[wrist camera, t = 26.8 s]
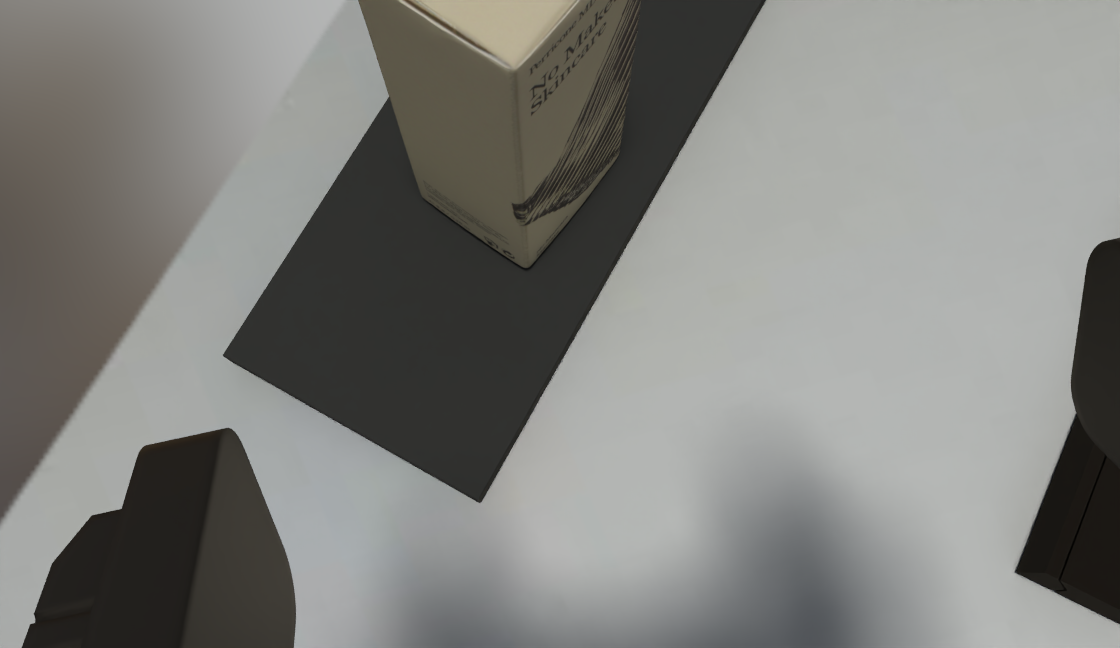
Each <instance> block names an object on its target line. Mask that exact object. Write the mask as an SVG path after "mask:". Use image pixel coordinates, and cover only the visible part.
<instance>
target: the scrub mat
mask: <svg viewBox="0 0 1120 648" xmlns="http://www.w3.org/2000/svg"><path fill="white" fill-rule="evenodd" d="M764 2H765V0H641V3H640V14H639V19H638V30H637V35H636V44H635V50H634V57H633V63H632V70H631V78H630V82H629V92H628V96H627V105H626V109H625V118H624V125H623V132H622V138H621V145H620V152H619V155H618V157H617V159H616V160H615V162H614V163H613V164H612V166H611V167H610V168H609V170H608V171H607V172H606V174H605V175H604V176H603V178H602V179H601V180H600V182H599V183H598V184H597V186H596V187H595V188H594V190H593V191H592V192H591V194H590V195H589V196H588V198H587V199H586V200H585V202H584V203H583V204H582V205H581V207H580V208H579V209H578V210H577V211H576V213H575V214H574V215H573V216H572V218H571V219H570V220H569V222H568V223H567V224H566V225H565V226H564V228H563V229H562V230H561V231H560V232H559V233H558V235H557V236H556V237H555V238H554V239H553V241H552V242H551V243H550V244H549V245H548V246H547V248H546V249H545V250H544V251H543V252H542V253H541V254H540V256H539V257H538V258H537V259H536V261H535V262H534V263H533V264H532V265H531V266H530V267H528V268H523V267H521V266H520V265H518V264H516V263H515V262H513V261H512V260H510V259H509V258H507V257H506V256H504V255H503V254H501V253H500V252H498V251H497V250H495V249H494V248H492V247H491V246H489V245H488V244H486V243H485V242H484V241H482V240H481V239H479V238H478V237H477V236H475V235H474V234H472V233H471V232H469V231H468V230H466V229H465V228H464V227H462V226H461V225H459V224H458V223H457V222H455V221H454V220H452V219H451V218H450V217H448V216H447V215H446V214H444V213H443V212H441V211H440V210H439V209H438V208H436V207H435V206H433V205H432V204H431V203H429V202H428V201H426V200H425V199H424V198H423V197H422V195H421V193H420V190H419V187H418V184H417V182H416V179H415V175H414V172H413V169H412V166H411V163H410V160H409V157H408V154H407V151H406V147H405V144H404V141H403V138H402V135H401V132H400V129H399V125H398V122H397V119H396V116H395V113H394V110H393V107H392V103H391V100H390V97H389V98H388V99H387V101H386V102H385V104H384V105H383V107H382V109H381V110H380V112H379V113H378V115H377V116H376V118H375V119H374V121H373V123H372V124H371V126H370V127H369V129H368V130H367V132H366V133H365V135H364V137H363V138H362V140H361V141H360V143H359V144H358V146H357V147H356V149H355V151H354V152H353V154H352V155H351V157H350V158H349V160H348V161H347V163H346V165H345V166H344V168H343V169H342V171H341V172H340V174H339V175H338V177H337V179H336V180H335V182H334V183H333V185H332V186H331V188H330V189H329V191H328V193H327V194H326V196H325V197H324V199H323V200H322V202H321V203H320V205H319V207H318V208H317V210H316V211H315V213H314V214H313V216H312V217H311V219H310V221H309V222H308V224H307V225H306V227H305V228H304V230H303V231H302V233H301V234H300V236H299V238H298V239H297V241H296V242H295V244H294V245H293V247H292V248H291V250H290V252H289V253H288V255H287V256H286V258H285V259H284V261H283V262H282V264H281V266H280V267H279V269H278V270H277V272H276V273H275V275H274V276H273V278H272V280H271V281H270V283H269V284H268V286H267V287H266V289H265V290H264V292H263V294H262V295H261V297H260V298H259V300H258V301H257V303H256V304H255V306H254V308H253V309H252V311H251V312H250V314H249V315H248V317H247V318H246V320H245V322H244V323H243V325H242V326H241V328H240V329H239V331H238V332H237V334H236V336H235V337H234V339H233V340H232V342H231V343H230V345H229V346H228V348H227V350H226V351H225V353H224V354H223V356H224V357H225V358H227V359H228V360H230V361H232V362H233V363H235V364H237V365H238V366H240V367H242V368H244V369H245V370H247V371H249V372H251V373H253V374H254V375H256V376H258V377H260V378H261V379H263V380H265V381H267V382H268V383H270V384H272V385H274V386H275V387H277V388H279V389H281V390H282V391H284V392H286V393H288V394H289V395H291V396H293V397H295V398H296V399H298V400H300V401H302V402H303V403H305V404H307V405H309V406H310V407H312V408H314V409H316V410H317V411H319V412H321V413H323V414H325V415H326V416H328V417H330V418H332V419H333V420H335V421H337V422H339V423H340V424H342V425H344V426H346V427H347V428H349V429H351V430H353V431H354V432H356V433H358V434H360V435H361V436H363V437H365V438H367V439H368V440H370V441H372V442H374V443H375V444H377V445H379V446H381V447H382V448H384V449H386V450H388V451H389V452H391V453H393V454H395V455H396V456H398V457H400V458H402V459H404V460H405V461H407V462H409V463H411V464H412V465H414V466H416V467H418V468H419V469H421V470H423V471H425V472H426V473H428V474H430V475H432V476H433V477H435V478H437V479H439V480H440V481H442V482H444V483H446V484H447V485H449V486H451V487H453V488H454V489H456V490H458V491H460V492H461V493H463V494H465V495H467V496H468V497H470V498H472V499H474V500H476V501H477V502H481V501H482V499H483V498H484V496H485V494H486V492H487V491H488V489H489V487H490V485H491V484H492V482H493V480H494V478H495V476H496V475H497V473H498V471H499V469H500V468H501V466H502V464H503V462H504V461H505V459H506V457H507V455H508V454H509V452H510V450H511V448H512V446H513V445H514V443H515V441H516V439H517V438H518V436H519V434H520V432H521V431H522V429H523V427H524V425H525V424H526V422H527V420H528V418H529V416H530V415H531V413H532V411H533V409H534V408H535V406H536V404H537V402H538V401H539V399H540V397H541V395H542V394H543V392H544V390H545V388H546V387H547V385H548V383H549V381H550V379H551V378H552V376H553V374H554V372H555V371H556V369H557V367H558V365H559V364H560V362H561V360H562V358H563V357H564V355H565V353H566V351H567V349H568V348H569V346H570V344H571V342H572V341H573V339H574V337H575V335H576V334H577V332H578V330H579V328H580V327H581V325H582V323H583V321H584V319H585V318H586V316H587V314H588V312H589V311H590V309H591V307H592V305H593V304H594V302H595V300H596V298H597V297H598V295H599V293H600V291H601V290H602V288H603V286H604V284H605V282H606V281H607V279H608V277H609V275H610V274H611V272H612V270H613V268H614V267H615V265H616V263H617V261H618V260H619V258H620V256H621V254H622V252H623V251H624V249H625V247H626V245H627V244H628V242H629V240H630V238H631V237H632V235H633V233H634V231H635V230H636V228H637V226H638V224H639V222H640V221H641V219H642V217H643V215H644V214H645V212H646V210H647V208H648V207H649V205H650V203H651V201H652V200H653V198H654V196H655V194H656V193H657V191H658V189H659V187H660V185H661V184H662V182H663V180H664V178H665V177H666V175H667V173H668V171H669V170H670V168H671V166H672V164H673V163H674V161H675V159H676V157H677V155H678V154H679V152H680V150H681V148H682V147H683V145H684V143H685V141H686V140H687V138H688V136H689V134H690V133H691V131H692V129H693V127H694V125H695V124H696V122H697V120H698V118H699V117H700V115H701V113H702V111H703V110H704V108H705V106H706V104H707V103H708V101H709V99H710V97H711V96H712V94H713V92H714V90H715V88H716V87H717V85H718V83H719V81H720V80H721V78H722V76H723V74H724V73H725V71H726V69H727V67H728V66H729V64H730V62H731V60H732V58H733V57H734V55H735V53H736V51H737V50H738V48H739V46H740V44H741V43H742V41H743V39H744V37H745V36H746V34H747V32H748V30H749V28H750V27H751V25H752V23H753V21H754V20H755V18H756V16H757V14H758V13H759V11H760V9H761V7H762V6H763V4H764Z"/></svg>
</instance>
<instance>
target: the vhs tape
mask: <svg viewBox="0 0 1120 648" xmlns="http://www.w3.org/2000/svg"><path fill="white" fill-rule="evenodd" d="M1016 573H1018V574H1020V575H1022V576H1024V577H1027V578H1029V579H1031V580H1033V581H1035V582H1037V583H1039V584H1041V585H1043V586H1045V587H1047V588H1049V589H1051V590H1055V592H1057V593H1059V594H1061V595H1063V596H1065V597H1067V598H1069V599H1071V600H1073V601H1075V602H1077V603H1079V604H1081V605H1083V606H1085V607H1087V608H1089V609H1091V610H1093V611H1095V612H1097V613H1099V614H1101V615H1103V616H1105V617H1107V618H1109V619H1112V620H1114V621H1116V622H1118V623H1120V469H1119V468H1118V467H1117V466H1116V465H1115V464H1114V463H1113V462H1112V461H1111V460H1110V459H1109V458H1108V457H1107V456H1106V455H1105V454H1104V453H1103V452H1102V451H1101V450H1100V449H1099V447H1098V446H1097V445H1096V444H1095V443H1094V442H1093V441H1092V440H1091V439H1090V437H1089V436H1088V434H1087V433H1086V431H1085V430H1084V428H1083V426H1082V424H1081V422H1080V420H1079V418H1078V415H1077V417H1076V420H1075V422H1074V425H1073V427H1072V430H1071V433H1070V435H1069V438H1068V440H1067V443H1066V446H1065V448H1064V451H1063V453H1062V456H1061V458H1060V461H1059V464H1058V466H1057V469H1056V471H1055V474H1054V477H1053V479H1052V482H1051V484H1050V487H1049V490H1048V492H1047V495H1046V497H1045V500H1044V502H1043V505H1042V508H1041V510H1040V513H1039V515H1038V518H1037V521H1036V523H1035V526H1034V528H1033V531H1032V534H1031V536H1030V539H1029V541H1028V544H1027V546H1026V549H1025V552H1024V554H1023V557H1022V559H1021V562H1020V565H1019V567H1018V570H1017V572H1016Z"/></svg>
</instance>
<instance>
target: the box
mask: <svg viewBox="0 0 1120 648" xmlns="http://www.w3.org/2000/svg"><path fill="white" fill-rule="evenodd" d="M358 1H359V4H360V7H361V10H362V13H363V16H364V19H365V22H366V25H367V28H368V31H369V34H370V37H371V40H372V44H373V47H374V50H375V53H376V56H377V60H378V63H379V66H380V69H381V72H382V75H383V78H384V81H385V84H386V87H387V91H388V94H389V97H390V100H391V103H392V107H393V110H394V113H395V116H396V119H397V122H398V125H399V129H400V132H401V135H402V138H403V141H404V144H405V147H406V151H407V154H408V157H409V160H410V163H411V166H412V169H413V172H414V175H415V179H416V182H417V184H418V187H419V190H420V193H421V195H422V197H423V198H424V199H425V200H426V201H428V202H429V203H431V204H432V205H433V206H435V207H436V208H438V209H439V210H440V211H441V212H443V213H444V214H446V215H447V216H448V217H450V218H451V219H452V220H454V221H455V222H457V223H458V224H459V225H461V226H462V227H464V228H465V229H466V230H468V231H469V232H471V233H472V234H474V235H475V236H477V237H478V238H479V239H481V240H482V241H484V242H485V243H486V244H488V245H489V246H491V247H492V248H494V249H495V250H497V251H498V252H500V253H501V254H503V255H504V256H506V257H507V258H509V259H510V260H512V261H513V262H515V263H516V264H518V265H520V266H521V267H523V268H528V267H530V266H531V265H532V264H533V263H534V262H535V261H536V259H537V258H538V257H539V256H540V254H541V253H542V252H543V251H544V250H545V249H546V248H547V246H548V245H549V244H550V243H551V242H552V241H553V239H554V238H555V237H556V236H557V235H558V233H559V232H560V231H561V230H562V229H563V228H564V226H565V225H566V224H567V223H568V222H569V220H570V219H571V218H572V216H573V215H574V214H575V213H576V211H577V210H578V209H579V208H580V207H581V205H582V204H583V203H584V202H585V200H586V199H587V198H588V196H589V195H590V194H591V192H592V191H593V190H594V188H595V187H596V186H597V184H598V183H599V182H600V180H601V179H602V178H603V176H604V175H605V174H606V172H607V171H608V170H609V168H610V167H611V166H612V164H613V163H614V162H615V160H616V159H617V157H618V155H619V152H620V145H621V138H622V132H623V125H624V118H625V109H626V105H627V96H628V92H629V82H630V78H631V70H632V63H633V57H634V50H635V44H636V35H637V30H638V19H639V14H640V3H641V0H358Z"/></svg>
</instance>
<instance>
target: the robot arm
mask: <svg viewBox="0 0 1120 648" xmlns="http://www.w3.org/2000/svg"><path fill="white" fill-rule="evenodd" d="M1071 391H1072V398H1073V402H1074V406H1075V409H1076V412H1077V415H1078V418H1079V420H1080V422H1081V424H1082V426H1083V428H1084V430H1085V431H1086V433H1087V434H1088V436H1089V437H1090V439H1091V440H1092V441H1093V442H1094V443H1095V444H1096V445H1097V446H1098V447H1099V449H1100V450H1101V451H1102V452H1103V453H1104V454H1105V455H1106V456H1107V457H1108V458H1109V459H1110V460H1111V461H1112V462H1113V463H1114V464H1115V465H1116V466H1117V467H1118V468H1119V469H1120V238H1117V239H1113V240H1108V241H1104V242H1102V243H1100V244H1098V245H1097V246H1096V247H1095V248H1094V250H1093V251H1092V253H1091V255H1090V257H1089V260H1088V263H1087V268H1086V275H1085V282H1084V289H1083V296H1082V303H1081V310H1080V318H1079V325H1078V332H1077V339H1076V346H1075V353H1074V360H1073V367H1072V375H1071ZM34 615H35V623H34V624H30V626H29V629H28V632H27V635H26V638H25V640H24V643H23V646H22V648H294V637H295V624H296V604H295V593H294V586H293V579H292V574H291V570H290V566H289V562H288V558H287V555H286V552H285V549H284V547H283V544H282V542H281V539H280V537H279V534H278V532H277V529H276V527H275V524H274V522H273V519H272V517H271V514H270V512H269V509H268V507H267V504H266V502H265V499H264V497H263V494H262V492H261V489H260V487H259V484H258V482H257V479H256V477H255V474H254V472H253V469H252V467H251V464H250V462H249V459H248V457H247V454H246V452H245V449H244V447H243V445H242V443H241V441H240V439H239V437H238V436H237V434H236V433H235V432H234V431H233V430H232V429H230V428H225V429H220V430H215V431H211V432H206V433H202V434H197V435H192V436H188V437H183V438H178V439H174V440H169V441H164V442H160V443H155V444H150V445H146V446H144V447H143V448H142V449H141V450H140V452H139V454H138V457H137V460H136V463H135V466H134V470H133V473H132V476H131V480H130V483H129V486H128V490H127V493H126V496H125V500H124V503H123V506H122V509H120V510H115V511H110V512H106V513H101V514H97V515H92V516H91V517H90V518H89V520H88V521H87V522H86V523H85V524H84V526H83V527H82V528H81V529H80V531H79V532H78V533H77V534H76V535H75V537H74V538H73V539H72V540H71V541H70V543H69V544H68V545H67V546H66V547H65V549H64V550H63V551H62V552H61V554H60V555H59V556H58V557H57V558H56V560H55V561H54V562H53V563H52V565H51V568H50V571H49V574H48V577H47V579H46V582H45V585H44V588H43V590H42V593H41V596H40V599H39V602H38V604H37V607H36V610H35V613H34Z"/></svg>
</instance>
